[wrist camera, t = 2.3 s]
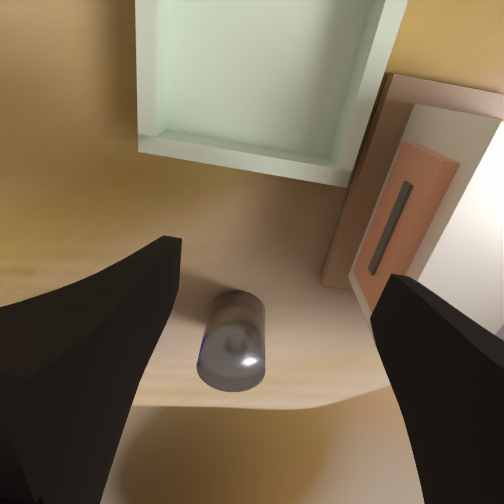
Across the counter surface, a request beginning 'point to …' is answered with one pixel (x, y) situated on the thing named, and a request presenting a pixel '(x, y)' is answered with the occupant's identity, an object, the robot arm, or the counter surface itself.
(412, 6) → the counter surface
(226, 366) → the coupling
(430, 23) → the counter surface
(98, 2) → the counter surface
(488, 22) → the counter surface
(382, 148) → the mounted housing
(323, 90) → the parts tray
